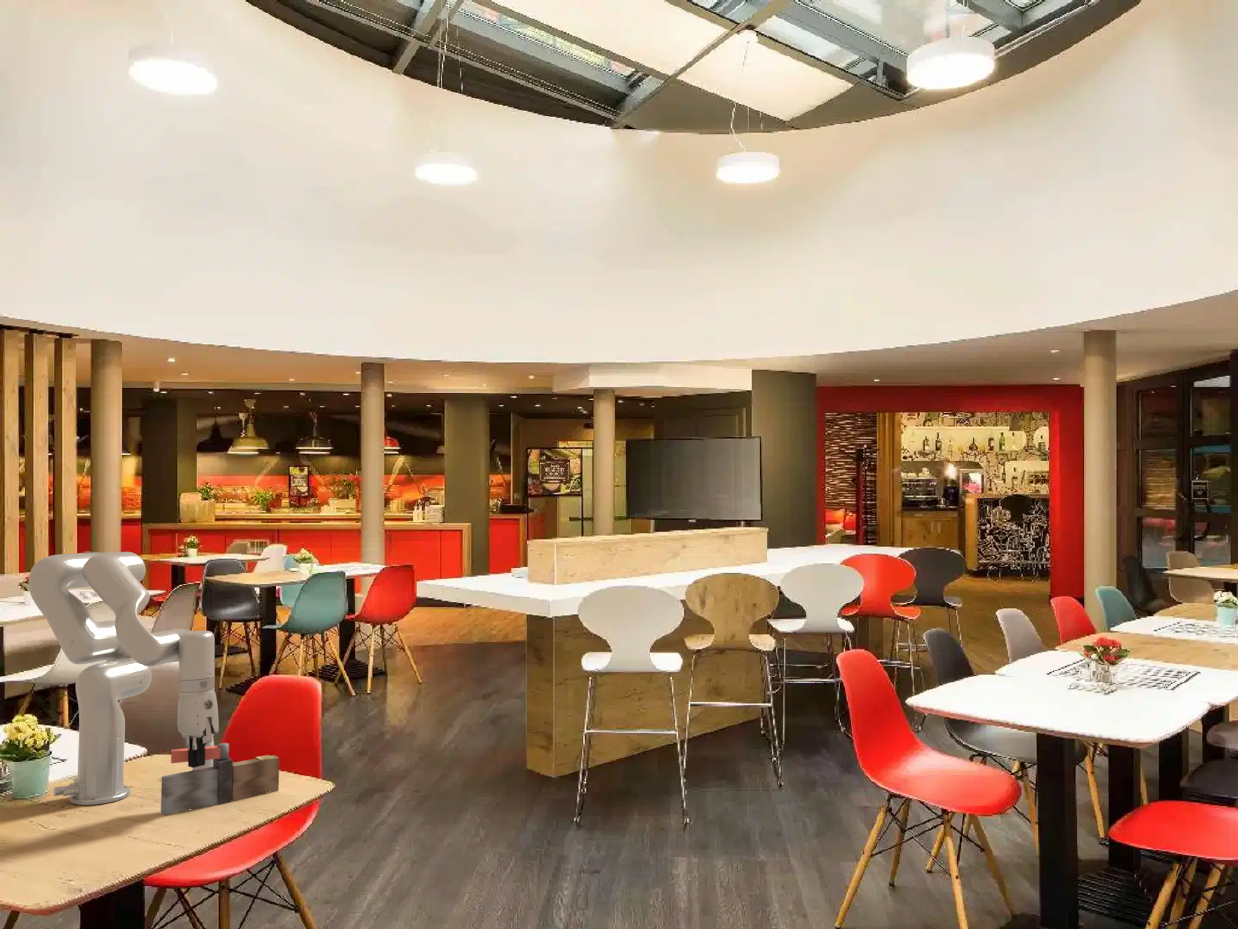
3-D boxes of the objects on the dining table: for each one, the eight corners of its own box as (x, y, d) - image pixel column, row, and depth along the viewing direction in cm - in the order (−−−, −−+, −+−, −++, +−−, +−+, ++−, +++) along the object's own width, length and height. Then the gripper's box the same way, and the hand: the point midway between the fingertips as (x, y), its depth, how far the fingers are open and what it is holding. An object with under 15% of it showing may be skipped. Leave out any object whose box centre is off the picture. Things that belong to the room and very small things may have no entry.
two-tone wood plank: (166, 816, 204) (167, 772, 205) (160, 811, 207) (161, 768, 208) (279, 791, 222) (280, 751, 223) (272, 787, 225) (273, 747, 226)
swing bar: (228, 756, 217) (228, 742, 217) (228, 759, 215) (229, 745, 215) (171, 761, 212) (171, 747, 212) (170, 764, 210) (171, 750, 210)
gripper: (230, 685, 209) (230, 767, 209) (194, 679, 218) (194, 757, 217) (199, 691, 203) (199, 775, 202) (163, 685, 212) (163, 765, 211)
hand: (196, 766), depth 210 cm, fingers closed
